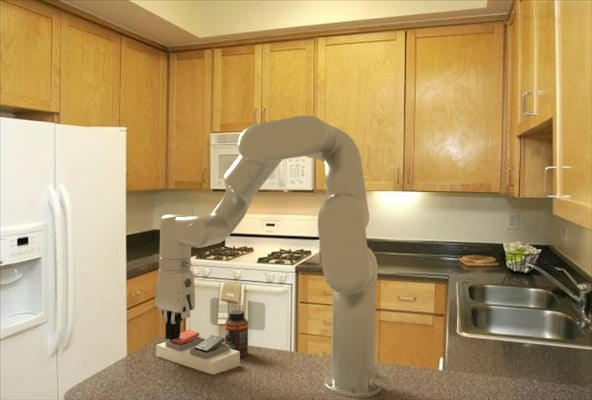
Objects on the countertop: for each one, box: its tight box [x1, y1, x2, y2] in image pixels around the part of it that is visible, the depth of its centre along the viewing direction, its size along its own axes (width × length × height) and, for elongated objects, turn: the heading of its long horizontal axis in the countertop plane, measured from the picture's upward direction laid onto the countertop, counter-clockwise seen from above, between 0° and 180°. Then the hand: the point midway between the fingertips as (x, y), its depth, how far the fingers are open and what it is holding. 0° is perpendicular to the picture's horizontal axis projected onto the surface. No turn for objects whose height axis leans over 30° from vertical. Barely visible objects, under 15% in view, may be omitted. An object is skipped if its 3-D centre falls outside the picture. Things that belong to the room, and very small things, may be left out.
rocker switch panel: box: [155, 336, 241, 375], centre depth 114 cm, size 20×9×5 cm, turn 55°
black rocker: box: [195, 334, 225, 353], centre depth 111 cm, size 4×6×2 cm, turn 145°
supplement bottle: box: [224, 309, 249, 358], centre depth 121 cm, size 6×6×11 cm
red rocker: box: [170, 329, 200, 344], centre depth 117 cm, size 4×6×2 cm, turn 145°
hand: (172, 338), depth 114 cm, fingers closed
